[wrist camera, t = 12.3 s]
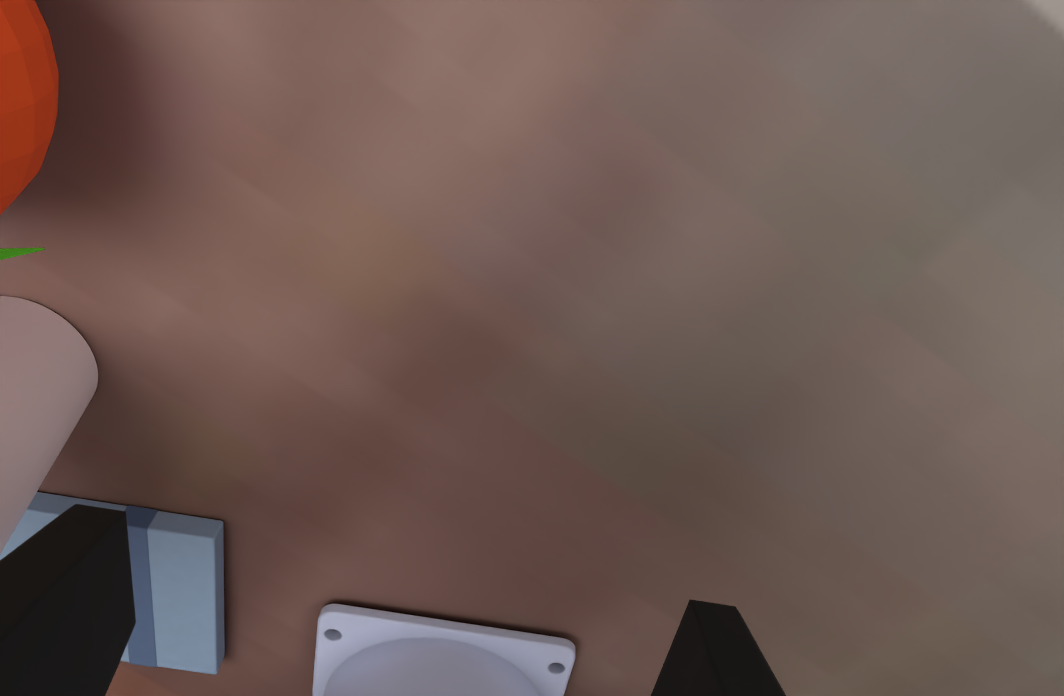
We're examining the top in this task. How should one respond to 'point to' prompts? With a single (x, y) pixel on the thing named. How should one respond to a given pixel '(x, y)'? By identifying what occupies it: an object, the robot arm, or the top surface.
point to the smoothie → (37, 399)
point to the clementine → (24, 100)
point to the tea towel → (160, 581)
